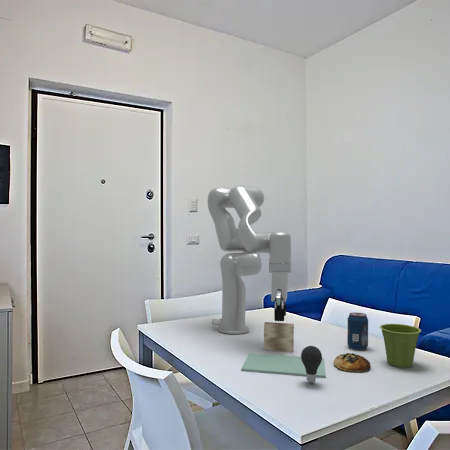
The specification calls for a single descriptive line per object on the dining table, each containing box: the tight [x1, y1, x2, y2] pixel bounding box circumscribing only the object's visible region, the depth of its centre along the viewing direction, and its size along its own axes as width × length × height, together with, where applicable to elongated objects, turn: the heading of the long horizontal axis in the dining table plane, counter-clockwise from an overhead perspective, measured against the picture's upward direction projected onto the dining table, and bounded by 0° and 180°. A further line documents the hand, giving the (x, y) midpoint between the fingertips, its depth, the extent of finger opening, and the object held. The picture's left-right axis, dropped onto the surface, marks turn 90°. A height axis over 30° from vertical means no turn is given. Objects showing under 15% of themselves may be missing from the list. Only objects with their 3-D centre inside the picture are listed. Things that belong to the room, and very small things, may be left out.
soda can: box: [347, 312, 369, 351], centre depth 145 cm, size 7×7×12 cm
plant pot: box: [379, 323, 422, 368], centre depth 128 cm, size 12×12×11 cm
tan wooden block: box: [263, 321, 295, 353], centre depth 142 cm, size 10×2×9 cm, turn 78°
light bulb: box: [300, 345, 323, 385], centre depth 111 cm, size 6×6×10 cm
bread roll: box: [333, 352, 371, 373], centre depth 125 cm, size 11×11×5 cm
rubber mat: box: [240, 352, 327, 379], centre depth 125 cm, size 24×16×1 cm, turn 78°
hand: (280, 318), depth 141 cm, fingers open, 9 cm apart
